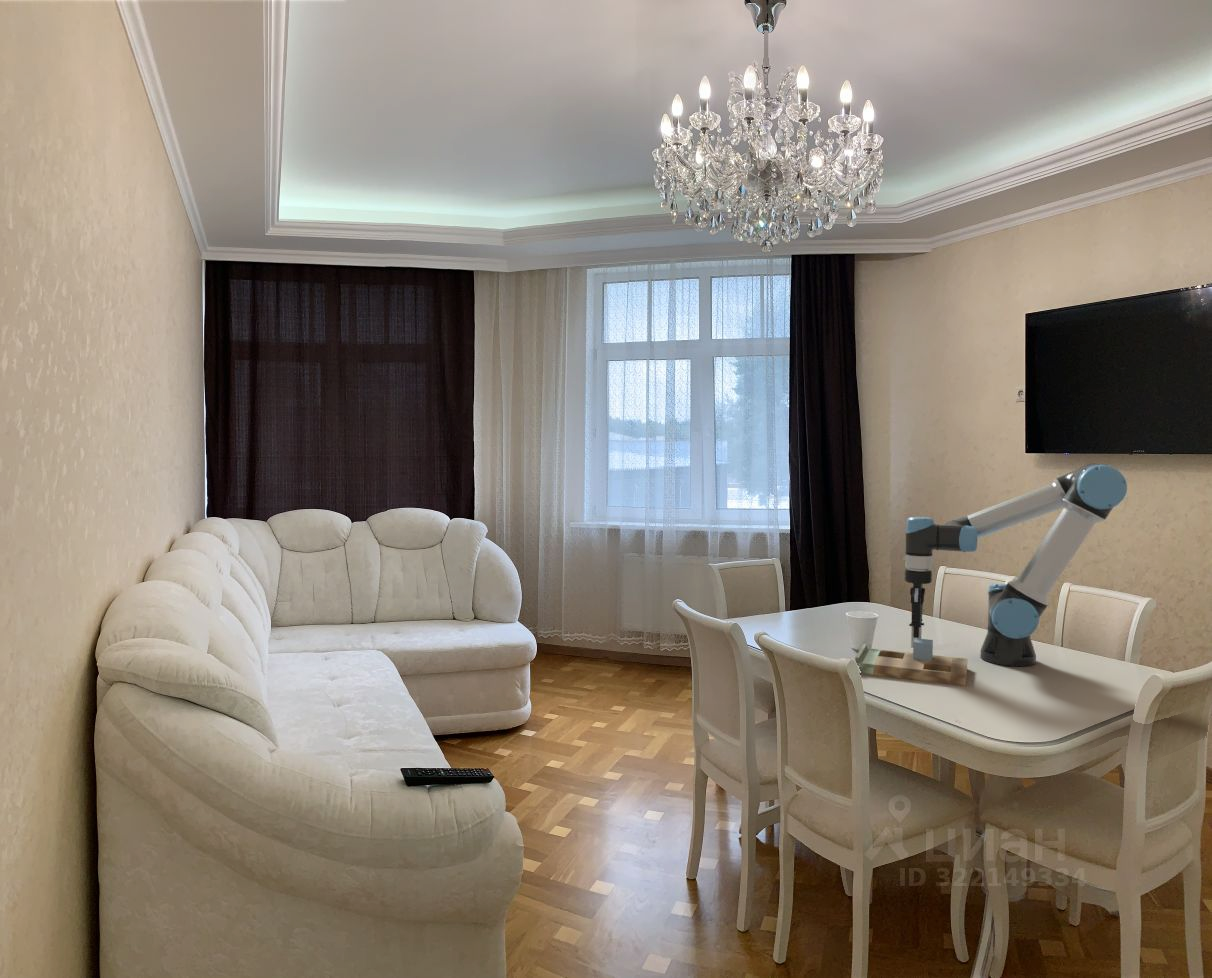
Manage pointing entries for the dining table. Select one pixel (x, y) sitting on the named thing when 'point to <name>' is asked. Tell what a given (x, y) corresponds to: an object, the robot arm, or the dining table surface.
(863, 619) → the cup
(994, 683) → the dining table surface
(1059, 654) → the dining table surface
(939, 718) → the dining table surface
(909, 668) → the board
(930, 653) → the block
